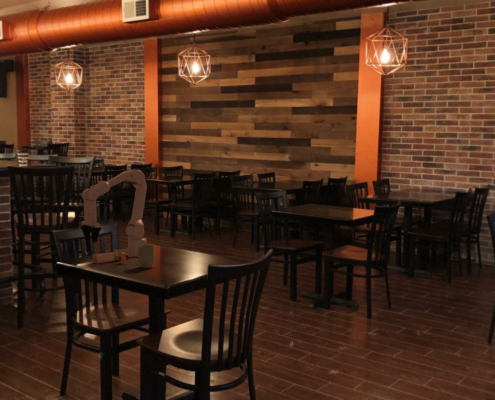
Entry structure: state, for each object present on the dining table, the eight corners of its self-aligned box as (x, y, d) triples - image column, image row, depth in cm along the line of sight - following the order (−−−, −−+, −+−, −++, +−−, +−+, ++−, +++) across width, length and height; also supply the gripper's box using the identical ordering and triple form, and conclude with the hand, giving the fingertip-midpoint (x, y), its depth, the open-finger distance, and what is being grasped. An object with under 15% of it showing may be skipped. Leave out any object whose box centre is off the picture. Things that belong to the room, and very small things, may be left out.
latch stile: (125, 262, 284) (125, 252, 283) (127, 263, 281) (126, 253, 281) (120, 262, 283) (120, 252, 283) (121, 264, 280) (121, 253, 280)
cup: (158, 266, 274) (157, 245, 273) (150, 269, 266) (149, 247, 266) (143, 265, 276) (142, 244, 275) (134, 268, 269) (134, 247, 268)
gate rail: (112, 260, 291) (112, 251, 290) (114, 260, 289) (114, 252, 289) (92, 263, 283) (92, 254, 282) (94, 263, 281) (94, 255, 281)
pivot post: (118, 259, 293) (118, 249, 292) (119, 260, 290) (119, 250, 290) (112, 259, 292) (112, 249, 291) (113, 260, 289) (113, 250, 289)
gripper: (75, 212, 289) (76, 240, 290) (89, 215, 278) (90, 243, 279) (89, 211, 294) (89, 238, 295) (103, 213, 283) (104, 242, 284)
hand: (91, 241), depth 287 cm, fingers open, 7 cm apart
